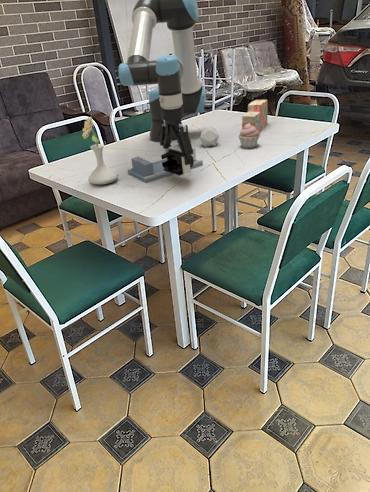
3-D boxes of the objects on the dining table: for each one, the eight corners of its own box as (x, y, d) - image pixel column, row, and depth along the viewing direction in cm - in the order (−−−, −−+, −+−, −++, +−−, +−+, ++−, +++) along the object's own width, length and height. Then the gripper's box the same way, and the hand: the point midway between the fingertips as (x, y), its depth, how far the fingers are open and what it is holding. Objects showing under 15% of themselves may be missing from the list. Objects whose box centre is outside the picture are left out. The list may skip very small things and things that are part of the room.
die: (213, 150, 186) (223, 130, 184) (195, 141, 185) (205, 121, 184) (212, 151, 194) (222, 132, 192) (195, 143, 193) (205, 123, 192)
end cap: (194, 170, 153) (193, 151, 150) (180, 176, 149) (178, 157, 146) (176, 164, 160) (174, 146, 156) (162, 170, 156) (159, 152, 152)
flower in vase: (91, 178, 167) (77, 112, 155) (120, 174, 167) (108, 109, 155) (86, 190, 155) (71, 121, 143) (117, 187, 156) (105, 117, 143)
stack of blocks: (255, 136, 197) (254, 109, 191) (242, 136, 199) (241, 109, 193) (267, 124, 213) (267, 99, 207) (255, 124, 216) (255, 99, 210)
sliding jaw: (174, 157, 175) (173, 145, 172) (185, 154, 177) (184, 142, 175) (190, 163, 167) (188, 151, 164) (201, 160, 169) (200, 147, 167)
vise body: (128, 174, 167) (125, 158, 164) (183, 157, 179) (181, 143, 176) (146, 183, 157) (143, 166, 154) (202, 165, 168) (201, 149, 165)
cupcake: (261, 148, 180) (261, 124, 175) (239, 150, 180) (239, 126, 175) (258, 142, 188) (258, 119, 183) (237, 144, 188) (236, 121, 184)
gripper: (145, 104, 150) (153, 164, 161) (181, 114, 133) (187, 180, 144) (163, 100, 153) (169, 159, 164) (200, 109, 136) (205, 174, 148)
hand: (178, 169), depth 154 cm, fingers closed on end cap, 10 cm apart
